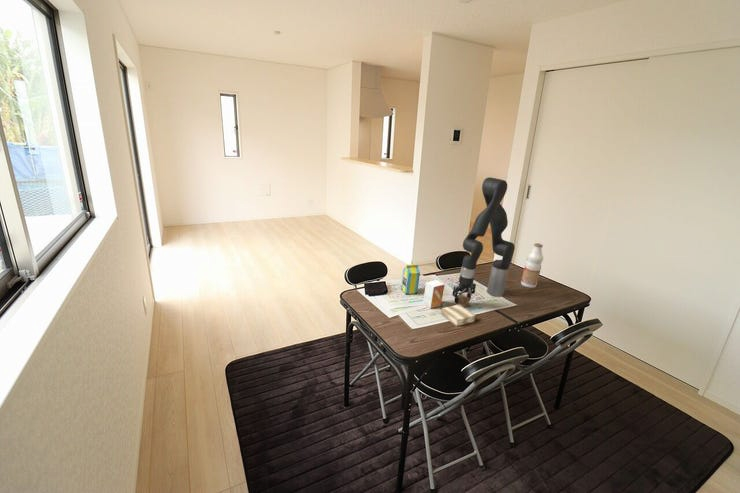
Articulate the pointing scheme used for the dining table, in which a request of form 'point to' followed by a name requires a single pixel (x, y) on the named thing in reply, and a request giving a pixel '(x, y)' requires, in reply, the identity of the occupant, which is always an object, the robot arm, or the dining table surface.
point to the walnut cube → (463, 300)
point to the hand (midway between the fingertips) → (461, 301)
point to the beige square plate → (458, 315)
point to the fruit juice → (532, 267)
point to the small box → (433, 294)
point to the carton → (410, 279)
